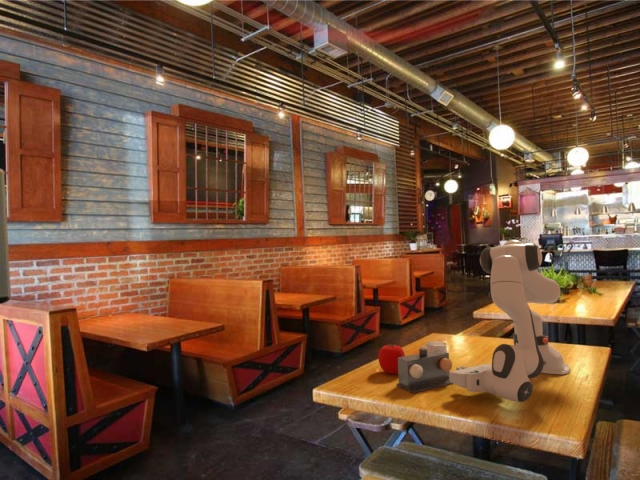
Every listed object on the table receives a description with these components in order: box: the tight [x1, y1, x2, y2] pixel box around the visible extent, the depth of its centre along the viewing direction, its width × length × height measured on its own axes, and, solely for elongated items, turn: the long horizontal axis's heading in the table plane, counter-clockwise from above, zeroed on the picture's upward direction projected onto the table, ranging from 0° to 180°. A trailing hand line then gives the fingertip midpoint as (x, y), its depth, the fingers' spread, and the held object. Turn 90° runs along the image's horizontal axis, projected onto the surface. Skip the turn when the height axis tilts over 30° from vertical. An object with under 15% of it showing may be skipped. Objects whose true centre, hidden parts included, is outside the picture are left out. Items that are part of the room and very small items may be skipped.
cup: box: [425, 340, 448, 353], centre depth 188 cm, size 9×9×12 cm
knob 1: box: [409, 364, 423, 378], centre depth 170 cm, size 9×5×5 cm, turn 27°
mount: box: [396, 350, 454, 394], centre depth 173 cm, size 10×23×11 cm, turn 117°
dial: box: [418, 345, 428, 356], centre depth 174 cm, size 3×3×4 cm
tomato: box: [377, 343, 406, 375], centre depth 188 cm, size 12×12×13 cm
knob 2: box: [439, 358, 453, 372], centre depth 177 cm, size 9×5×5 cm, turn 27°
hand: (459, 368), depth 167 cm, fingers closed
